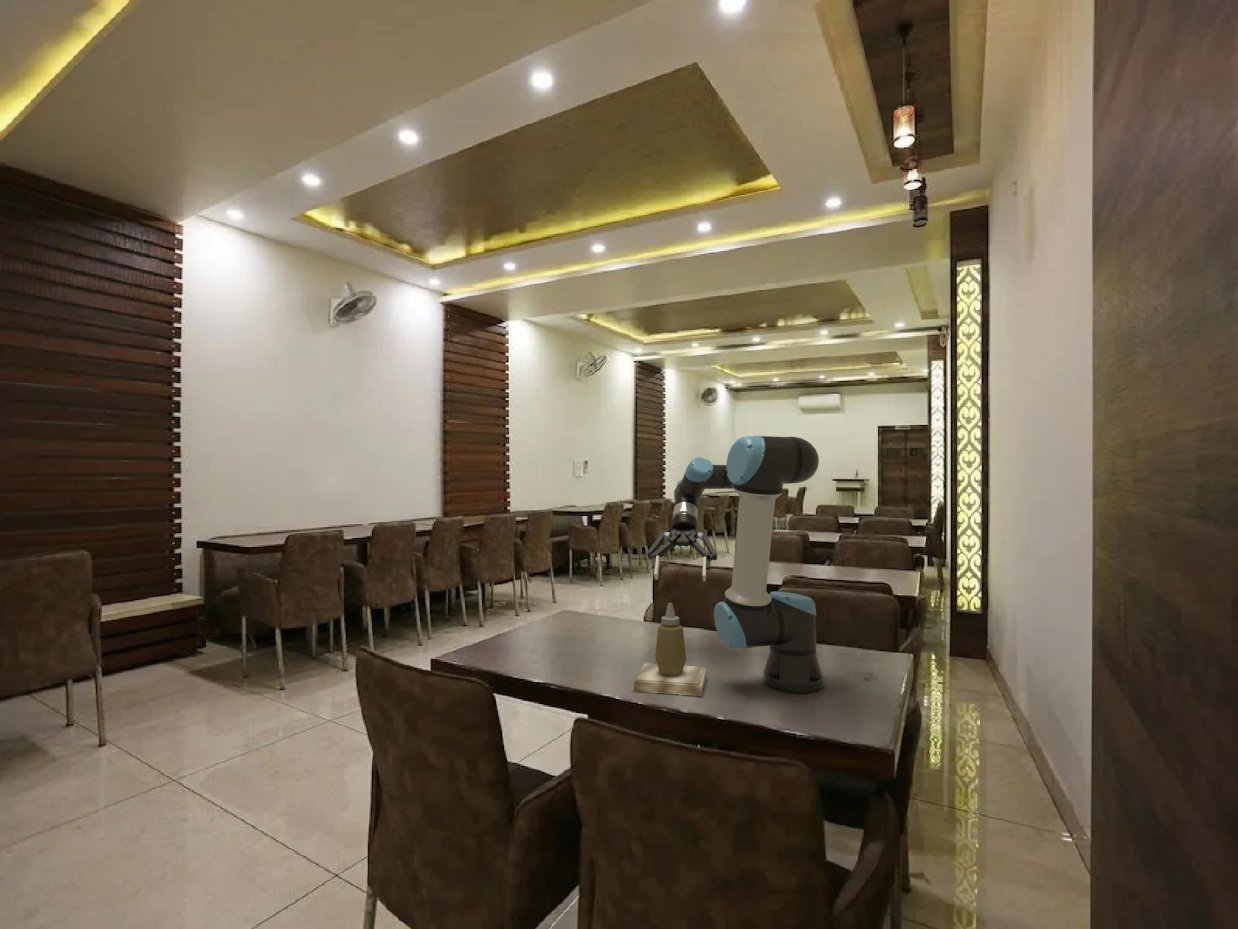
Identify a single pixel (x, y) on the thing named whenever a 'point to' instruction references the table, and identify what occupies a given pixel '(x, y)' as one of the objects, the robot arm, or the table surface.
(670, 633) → the squeeze bottle
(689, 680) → the stand
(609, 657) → the table surface
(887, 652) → the table surface
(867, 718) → the table surface
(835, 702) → the table surface
